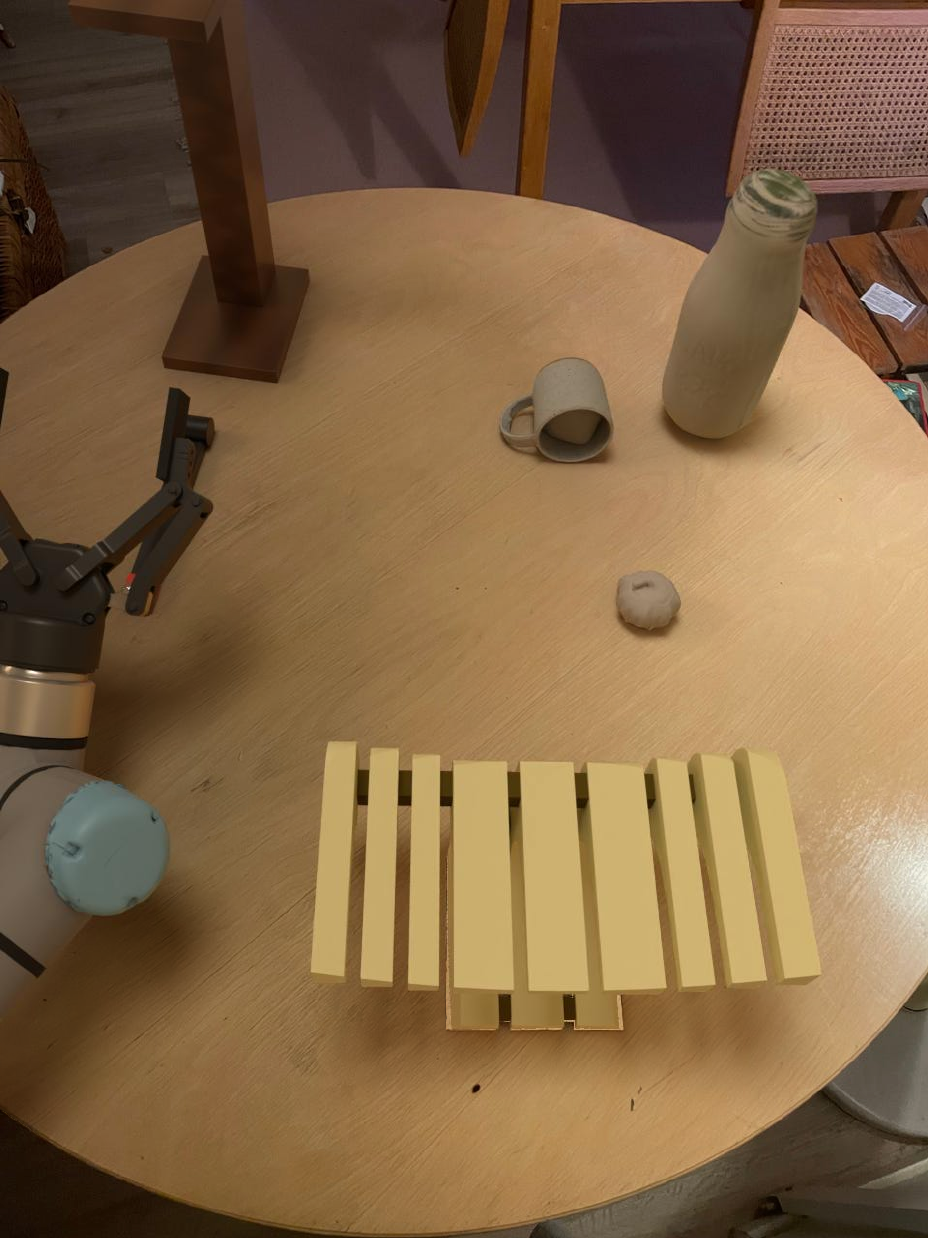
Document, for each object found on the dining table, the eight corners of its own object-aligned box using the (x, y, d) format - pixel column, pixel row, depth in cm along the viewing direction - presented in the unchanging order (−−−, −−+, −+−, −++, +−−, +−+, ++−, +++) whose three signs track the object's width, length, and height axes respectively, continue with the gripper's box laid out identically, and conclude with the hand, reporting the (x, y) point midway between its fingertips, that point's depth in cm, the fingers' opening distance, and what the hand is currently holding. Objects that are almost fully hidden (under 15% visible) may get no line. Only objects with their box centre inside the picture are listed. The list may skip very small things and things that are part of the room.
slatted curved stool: (709, 824, 85) (776, 729, 70) (738, 1031, 76) (821, 974, 61) (340, 819, 83) (327, 722, 68) (328, 1030, 75) (310, 972, 60)
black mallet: (119, 609, 92) (112, 592, 90) (185, 426, 104) (180, 406, 102) (154, 614, 92) (148, 597, 90) (216, 430, 104) (212, 410, 101)
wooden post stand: (158, 381, 107) (53, 2, 75) (204, 266, 116) (129, -116, 84) (273, 397, 107) (217, 23, 74) (309, 280, 116) (275, -97, 84)
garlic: (601, 624, 94) (611, 593, 90) (619, 579, 97) (630, 547, 92) (664, 648, 93) (678, 617, 89) (681, 601, 96) (694, 570, 92)
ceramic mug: (596, 402, 108) (607, 347, 102) (607, 462, 104) (619, 409, 98) (495, 404, 108) (500, 349, 101) (502, 465, 104) (508, 412, 97)
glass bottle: (761, 408, 109) (863, 172, 86) (723, 471, 105) (819, 239, 81) (677, 370, 112) (753, 129, 88) (635, 429, 107) (703, 192, 83)
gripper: (-99, 645, 78) (-55, 369, 79) (226, 693, 78) (268, 415, 78) (-160, 645, 71) (-111, 340, 72) (199, 697, 70) (245, 390, 71)
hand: (87, 378), depth 75 cm, fingers open, 13 cm apart
